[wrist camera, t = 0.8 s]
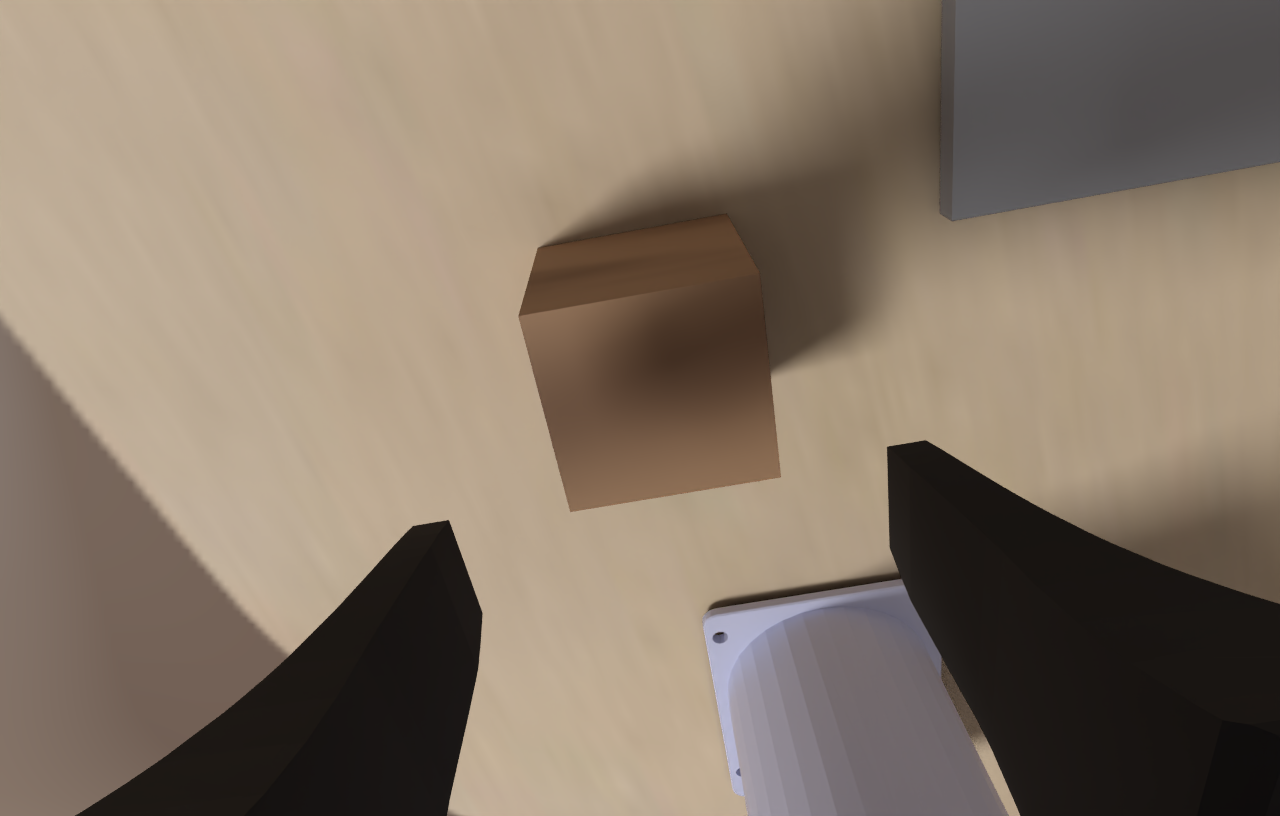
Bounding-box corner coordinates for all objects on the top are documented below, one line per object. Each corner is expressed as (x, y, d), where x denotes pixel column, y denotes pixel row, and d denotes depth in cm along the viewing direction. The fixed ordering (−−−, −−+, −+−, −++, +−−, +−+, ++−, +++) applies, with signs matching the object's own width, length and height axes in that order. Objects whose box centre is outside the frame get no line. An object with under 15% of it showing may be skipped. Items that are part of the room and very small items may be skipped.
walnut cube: (746, 382, 22) (780, 477, 18) (578, 411, 22) (570, 512, 18) (726, 212, 20) (760, 273, 15) (538, 247, 20) (518, 316, 16)
